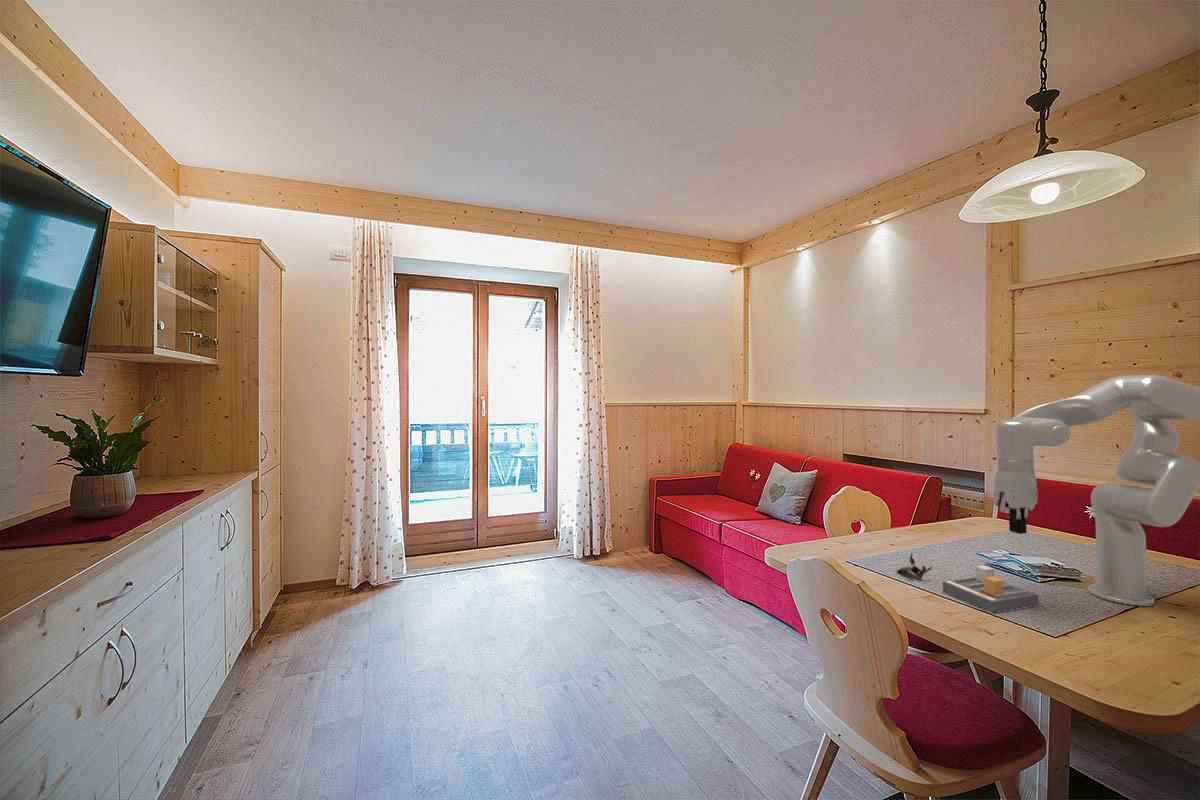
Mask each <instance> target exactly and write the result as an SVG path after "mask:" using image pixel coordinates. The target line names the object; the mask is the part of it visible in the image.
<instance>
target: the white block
mask: <svg viewBox="0 0 1200 800" xmlns="http://www.w3.org/2000/svg"><path fill="white" fill-rule="evenodd" d="M992 576H993V577H995V568H992V567H990V566H987V565H985V564H984V565H983V564H982V565H976V566H975V577H976V580H977V581H980V582H982V583H984V578H985V577H992Z"/></svg>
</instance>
